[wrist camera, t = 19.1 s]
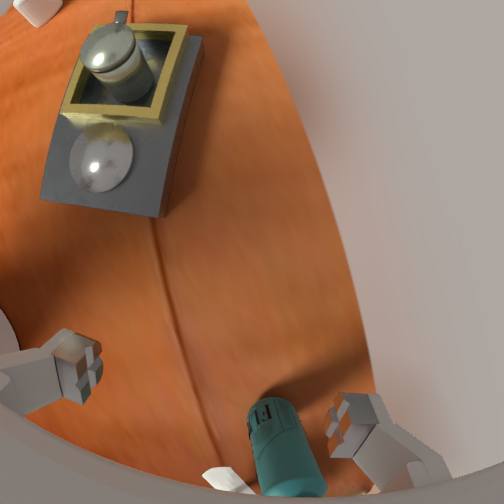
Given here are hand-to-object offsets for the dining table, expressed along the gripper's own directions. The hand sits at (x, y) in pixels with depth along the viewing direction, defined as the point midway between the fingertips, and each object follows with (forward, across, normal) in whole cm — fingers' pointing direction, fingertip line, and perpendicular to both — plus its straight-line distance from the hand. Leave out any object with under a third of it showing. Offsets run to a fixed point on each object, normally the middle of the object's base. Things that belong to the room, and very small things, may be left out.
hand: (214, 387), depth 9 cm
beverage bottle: (+22, -7, +22) cm, 32 cm away
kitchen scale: (+24, +16, -10) cm, 31 cm away
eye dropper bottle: (+25, +37, -28) cm, 52 cm away
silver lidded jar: (+23, +16, -15) cm, 32 cm away
